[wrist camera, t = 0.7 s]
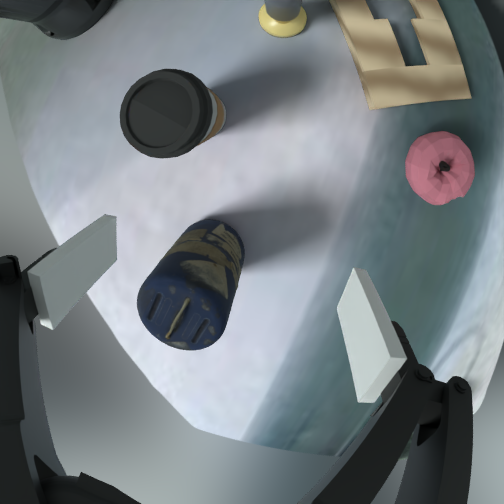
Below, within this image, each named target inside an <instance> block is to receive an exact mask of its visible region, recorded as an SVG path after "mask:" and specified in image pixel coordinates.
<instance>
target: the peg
mask: <svg viewBox="0 0 504 504" xmlns="http://www.w3.org/2000/svg"><path fill="white" fill-rule="evenodd" d="M301 4H302V0H265V4H264V5H263V6H262V7H261V9H260V11H259V22H260V25H261V27H262V28H263V29H264V30H265V31H266V32H267V33H268V34H270V35H272V36H275V37H280V38H288V37H293V36H295V35H297V34H299V33H300V32H301V31H302V30H303V29H304V27H305V24H306V20H307V16H306V12H305V10H304V9H303V7H302V6H301Z"/></svg>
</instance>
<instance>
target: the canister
mask: <svg viewBox="0 0 504 504" xmlns="http://www.w3.org/2000/svg"><path fill="white" fill-rule="evenodd" d="M243 261H244V246H243V243H242V240H241V238H240V237H239V235H238V234H237V233H236V231H235V230H234V229H233V228H231V227H230V226H229V225H227V224H225V223H223V222H220V221H216V220H203V221H199V222H196V223H194V224H192V225H191V226H190V227H188V228H187V229H186V230H185V232H184V233H183V234H182V235H181V236H180V238H179V239H178V240H177V241H176V242H175V244H174V245H173V246H172V247H171V249H170V250H169V251H168V252H167V253H166V254H165V256H164V257H163V258H162V259H161V260H160V262H159V263H158V265H157V266H156V267H155V269H154V270H153V271H152V272H151V274H150V275H149V276H148V277H147V279H146V280H145V281H144V283H143V284H142V286H141V288H140V290H139V293H138V298H137V309H138V312H139V316H140V318H141V321H142V322H143V324H144V326H145V327H146V328H147V330H148V331H149V332H150V333H151V334H152V335H153V336H155V337H156V338H157V339H158V340H160V341H161V342H163V343H165V344H167V345H169V346H171V347H174V348H177V349H182V350H200V349H204V348H206V347H209V346H211V345H212V344H214V343H215V342H216V341H217V340H218V339H219V338H220V337H221V336H222V334H223V332H224V330H225V328H226V325H227V321H228V318H229V314H230V311H231V307H232V303H233V299H234V296H235V293H236V290H237V288H238V282H239V278H240V274H241V269H242V265H243Z"/></svg>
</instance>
